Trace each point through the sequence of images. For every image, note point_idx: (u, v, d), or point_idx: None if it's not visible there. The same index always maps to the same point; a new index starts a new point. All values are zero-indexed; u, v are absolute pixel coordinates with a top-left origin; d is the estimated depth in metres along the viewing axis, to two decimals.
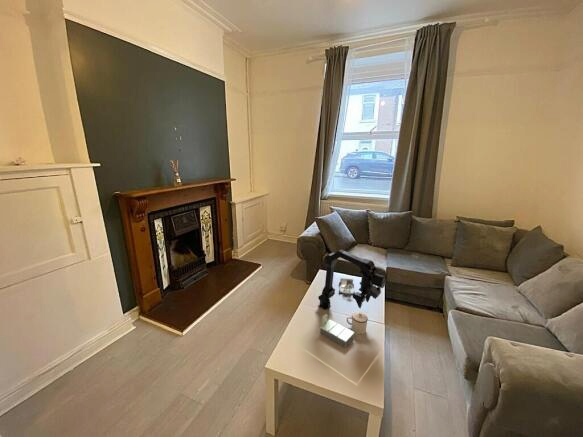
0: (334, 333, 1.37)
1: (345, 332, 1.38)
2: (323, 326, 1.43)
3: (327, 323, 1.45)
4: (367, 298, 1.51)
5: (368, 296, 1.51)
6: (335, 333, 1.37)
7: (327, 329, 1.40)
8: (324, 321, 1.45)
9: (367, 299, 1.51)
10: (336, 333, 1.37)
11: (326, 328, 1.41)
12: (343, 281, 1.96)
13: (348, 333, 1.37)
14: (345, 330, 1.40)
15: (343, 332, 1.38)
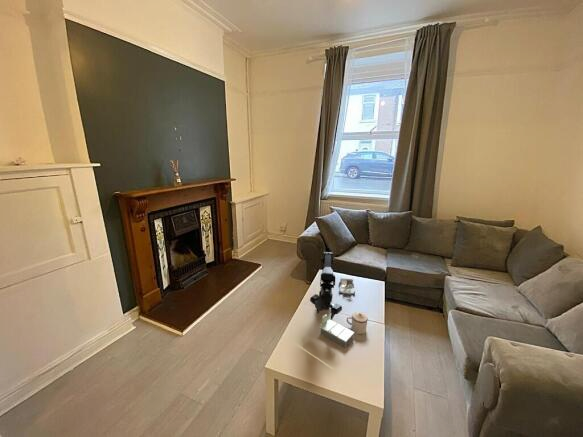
0: (334, 333, 1.37)
1: (345, 332, 1.38)
2: (323, 326, 1.43)
3: (327, 323, 1.45)
4: None
5: None
6: (335, 333, 1.37)
7: (327, 329, 1.40)
8: (324, 321, 1.45)
9: None
10: (336, 333, 1.37)
11: (326, 328, 1.41)
12: (343, 281, 1.96)
13: (348, 333, 1.37)
14: (345, 330, 1.40)
15: (343, 332, 1.38)
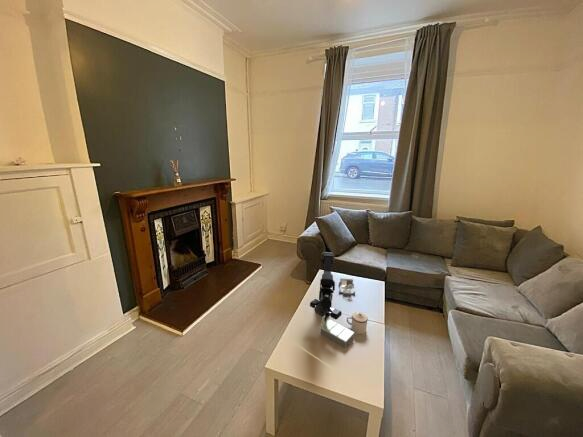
0: (334, 333, 1.37)
1: (345, 332, 1.38)
2: (323, 326, 1.43)
3: (327, 323, 1.45)
4: None
5: None
6: (335, 333, 1.37)
7: (327, 329, 1.40)
8: (324, 321, 1.45)
9: None
10: (336, 333, 1.37)
11: (326, 328, 1.41)
12: (343, 281, 1.96)
13: (348, 333, 1.37)
14: (345, 330, 1.40)
15: (343, 332, 1.38)
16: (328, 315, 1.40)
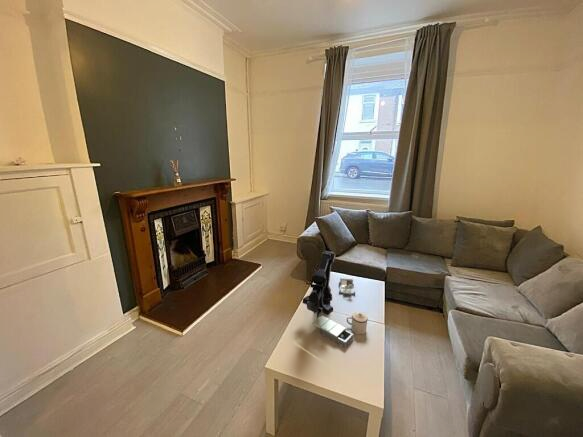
0: (326, 328, 1.41)
1: (336, 327, 1.42)
2: (315, 322, 1.46)
3: (319, 319, 1.49)
4: None
5: None
6: (326, 328, 1.41)
7: (319, 325, 1.44)
8: (316, 317, 1.48)
9: None
10: (328, 328, 1.41)
11: (318, 324, 1.45)
12: (343, 281, 1.96)
13: (339, 329, 1.41)
14: (337, 326, 1.43)
15: (335, 327, 1.42)
16: (320, 311, 1.44)
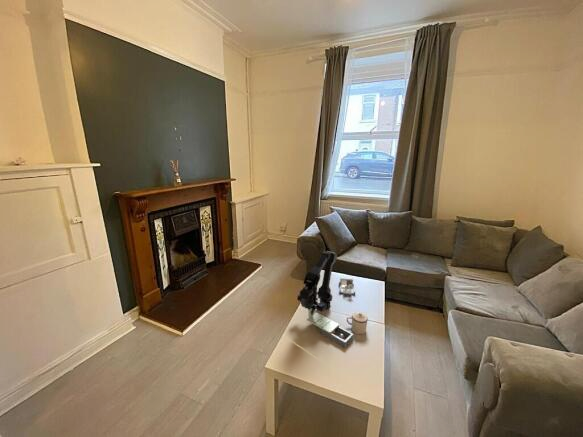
0: (319, 325, 1.44)
1: (330, 324, 1.45)
2: (309, 318, 1.49)
3: (314, 316, 1.52)
4: None
5: None
6: (320, 325, 1.44)
7: (313, 321, 1.47)
8: None
9: None
10: (321, 325, 1.44)
11: (312, 320, 1.47)
12: (343, 281, 1.96)
13: (333, 325, 1.43)
14: (330, 322, 1.46)
15: (328, 324, 1.44)
16: (314, 308, 1.46)
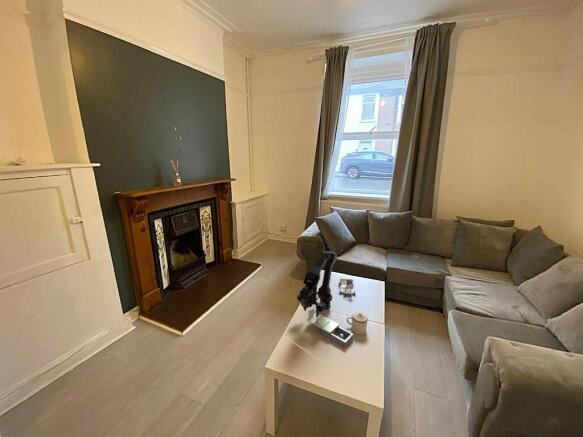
0: (319, 325, 1.44)
1: (330, 324, 1.45)
2: (309, 318, 1.49)
3: (313, 316, 1.52)
4: None
5: None
6: (320, 325, 1.44)
7: (313, 321, 1.47)
8: (311, 314, 1.51)
9: None
10: (321, 325, 1.44)
11: (312, 320, 1.47)
12: (343, 281, 1.95)
13: (333, 325, 1.43)
14: (330, 322, 1.46)
15: (328, 324, 1.45)
16: None
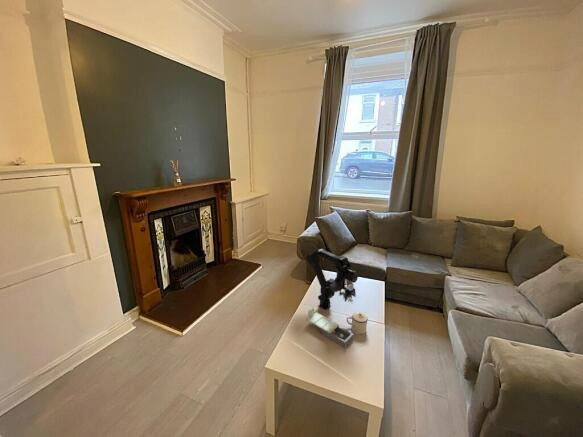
0: (319, 325, 1.44)
1: (330, 324, 1.45)
2: (309, 318, 1.49)
3: (313, 316, 1.52)
4: None
5: None
6: (320, 325, 1.44)
7: (313, 321, 1.47)
8: (311, 314, 1.51)
9: None
10: (321, 325, 1.44)
11: (312, 320, 1.47)
12: None
13: (333, 325, 1.43)
14: (330, 322, 1.46)
15: (328, 324, 1.45)
16: None
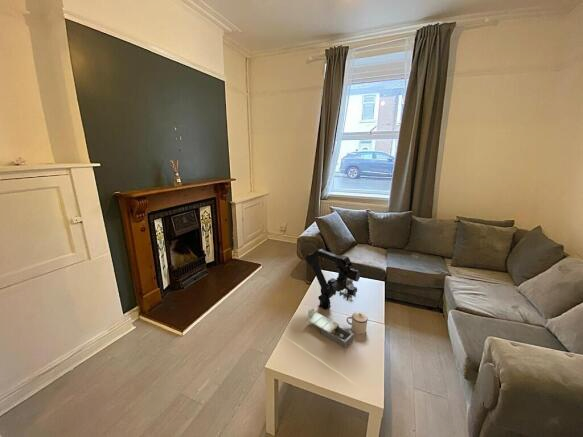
0: (319, 325, 1.44)
1: (330, 324, 1.45)
2: (309, 318, 1.49)
3: (313, 316, 1.52)
4: None
5: None
6: (320, 325, 1.44)
7: (313, 321, 1.47)
8: (311, 314, 1.51)
9: None
10: (321, 325, 1.44)
11: (312, 320, 1.47)
12: None
13: (333, 325, 1.43)
14: (330, 322, 1.46)
15: (328, 324, 1.45)
16: None
